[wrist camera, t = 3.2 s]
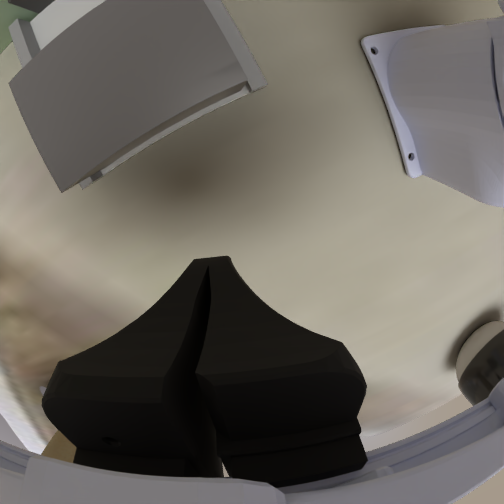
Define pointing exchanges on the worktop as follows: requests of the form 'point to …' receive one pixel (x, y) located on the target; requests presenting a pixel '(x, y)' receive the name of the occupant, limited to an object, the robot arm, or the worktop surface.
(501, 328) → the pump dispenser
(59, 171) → the grey open box
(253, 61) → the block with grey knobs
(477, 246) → the worktop surface
